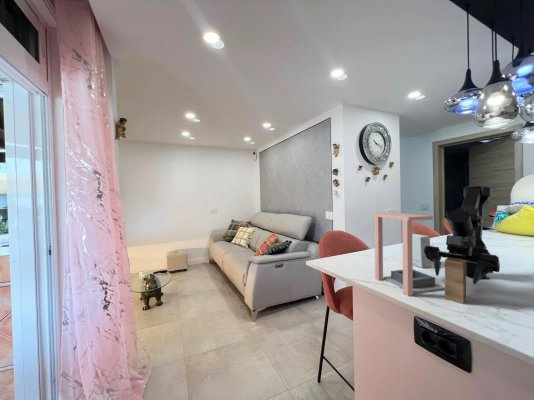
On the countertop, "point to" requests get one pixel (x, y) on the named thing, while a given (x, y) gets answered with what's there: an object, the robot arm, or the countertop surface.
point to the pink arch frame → (407, 246)
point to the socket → (415, 281)
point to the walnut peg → (455, 280)
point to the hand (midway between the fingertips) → (454, 279)
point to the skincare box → (420, 250)
